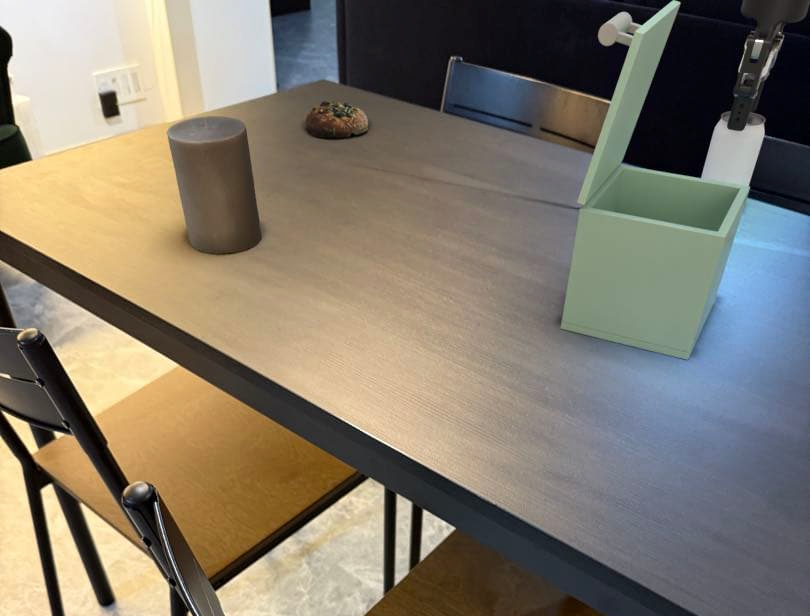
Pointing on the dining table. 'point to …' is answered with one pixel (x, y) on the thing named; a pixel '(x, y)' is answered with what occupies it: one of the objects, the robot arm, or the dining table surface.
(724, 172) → the can
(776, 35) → the robot arm
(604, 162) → the lid
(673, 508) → the dining table surface
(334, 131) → the bread roll
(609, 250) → the box
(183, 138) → the pillar candle
